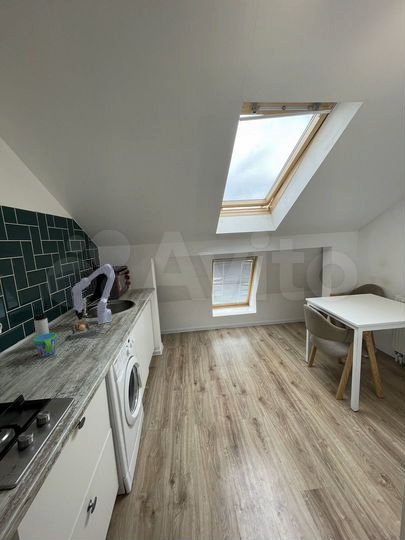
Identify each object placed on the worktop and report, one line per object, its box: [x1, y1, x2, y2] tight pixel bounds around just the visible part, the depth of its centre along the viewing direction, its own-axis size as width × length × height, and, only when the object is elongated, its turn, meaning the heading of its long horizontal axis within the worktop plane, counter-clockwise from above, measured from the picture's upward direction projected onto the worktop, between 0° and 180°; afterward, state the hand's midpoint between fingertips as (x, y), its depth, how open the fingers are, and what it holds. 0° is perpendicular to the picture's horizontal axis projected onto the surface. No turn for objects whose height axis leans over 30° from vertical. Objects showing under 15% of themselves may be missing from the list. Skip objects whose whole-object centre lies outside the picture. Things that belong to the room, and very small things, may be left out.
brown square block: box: [75, 320, 88, 330], centre depth 162 cm, size 6×6×3 cm
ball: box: [78, 324, 86, 331], centre depth 157 cm, size 4×4×4 cm
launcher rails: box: [72, 322, 92, 334], centre depth 160 cm, size 10×13×1 cm
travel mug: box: [33, 312, 50, 337], centre depth 134 cm, size 6×7×20 cm
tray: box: [69, 325, 97, 341], centre depth 149 cm, size 14×9×3 cm, turn 122°
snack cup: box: [32, 332, 58, 358], centre depth 124 cm, size 16×10×10 cm
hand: (80, 319), depth 167 cm, fingers closed
